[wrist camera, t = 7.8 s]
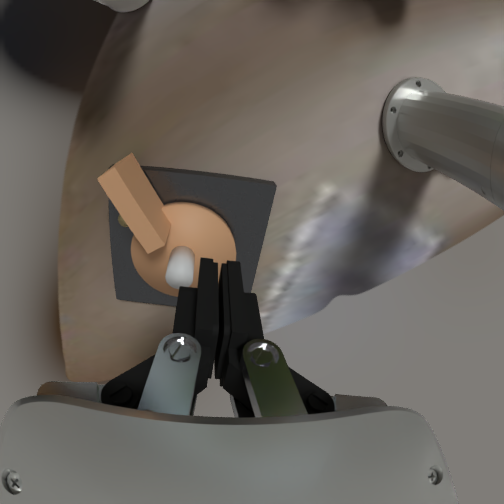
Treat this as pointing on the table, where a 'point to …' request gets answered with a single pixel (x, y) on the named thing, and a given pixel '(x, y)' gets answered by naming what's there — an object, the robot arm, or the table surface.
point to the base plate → (205, 194)
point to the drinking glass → (123, 4)
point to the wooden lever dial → (166, 230)
